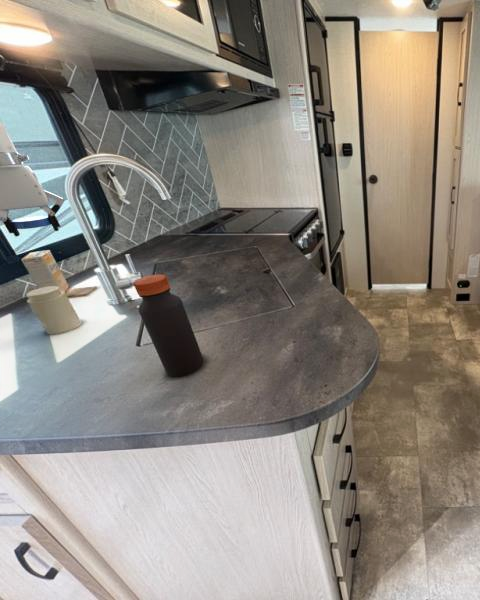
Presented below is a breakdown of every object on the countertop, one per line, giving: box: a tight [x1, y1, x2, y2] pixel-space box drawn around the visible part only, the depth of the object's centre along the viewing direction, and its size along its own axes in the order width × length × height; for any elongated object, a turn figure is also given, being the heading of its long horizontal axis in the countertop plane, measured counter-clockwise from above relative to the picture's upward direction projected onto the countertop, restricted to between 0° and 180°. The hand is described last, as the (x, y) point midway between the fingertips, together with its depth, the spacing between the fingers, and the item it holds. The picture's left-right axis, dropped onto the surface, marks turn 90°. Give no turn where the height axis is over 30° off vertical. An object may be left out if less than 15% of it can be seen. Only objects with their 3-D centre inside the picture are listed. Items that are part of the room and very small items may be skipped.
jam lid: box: [11, 215, 52, 230], centre depth 84 cm, size 7×7×2 cm
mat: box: [65, 286, 98, 298], centre depth 101 cm, size 6×6×1 cm
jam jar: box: [25, 286, 82, 335], centre depth 79 cm, size 7×7×11 cm
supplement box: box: [20, 249, 70, 293], centre depth 98 cm, size 8×5×13 cm, turn 34°
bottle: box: [132, 273, 205, 378], centre depth 61 cm, size 7×7×20 cm
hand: (37, 232), depth 85 cm, fingers closed on jam lid, 6 cm apart
